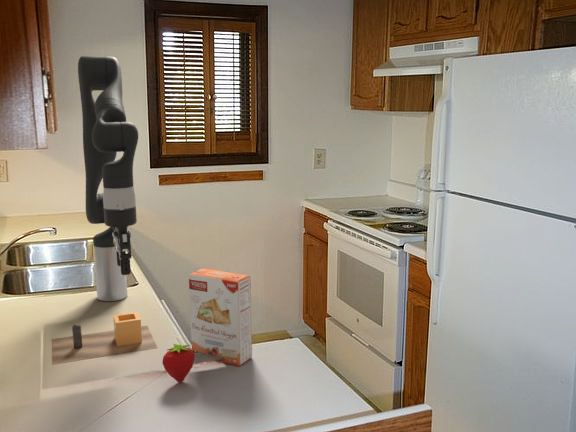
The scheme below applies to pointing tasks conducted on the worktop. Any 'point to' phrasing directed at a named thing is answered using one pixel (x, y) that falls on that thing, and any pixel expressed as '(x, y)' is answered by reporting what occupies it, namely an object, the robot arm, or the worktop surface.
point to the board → (95, 345)
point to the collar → (127, 328)
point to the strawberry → (178, 361)
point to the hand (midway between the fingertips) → (123, 269)
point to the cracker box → (221, 315)
